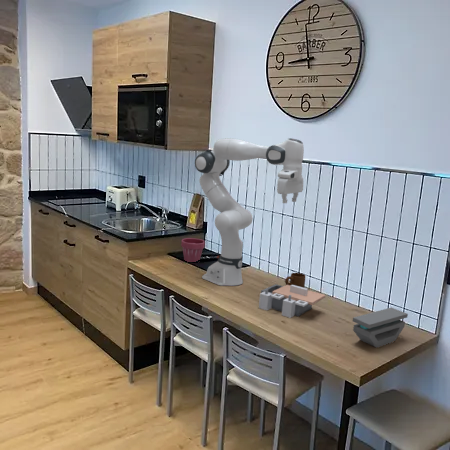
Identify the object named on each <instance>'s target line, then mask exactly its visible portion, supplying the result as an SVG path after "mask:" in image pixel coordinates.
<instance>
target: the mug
mask: <svg viewBox="0 0 450 450" xmlns="http://www.w3.org/2000/svg"><path fill="white" fill-rule="evenodd" d="M284 284H285V285H290V286H291V285H295V286H299V287H303V288H306V287H305V286H306V285H305V284H306V274H304V273H302V272H292V273H290V275H289V276H286V277H285V279H284Z"/></svg>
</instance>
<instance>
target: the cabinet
mask: <svg viewBox="0 0 450 450" xmlns="http://www.w3.org/2000/svg"><path fill="white" fill-rule="evenodd" d="M283 286H284V285H281V284H277V283H276V284H275V283H274V284H273V285H271V286H268V287H266V288H264V289H262V290H260V293H259V301H258V302H259V303H258V308H259V309H260V310H263V311H269V310H272V309H273V310H275V311H278V312H281V316H283V317H286V318H290V319H291V318H293V317H294V316H295V317H300V316H301V315H304V314H305V313H307V312H308V311H310V310H312V308H313V305H309V304H308V305H306V306H304V307H303V306H300V305H296V304H295V302H296V300H292V299H291V295H289V298H285V297H284V298H282V299H280V300H279V299H276V298H272V297H271V295H273V294H272V292H273V291H274V290H277V289H279V288H281V287H283ZM278 297H279V296H278ZM303 304H304V303H303Z"/></svg>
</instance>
